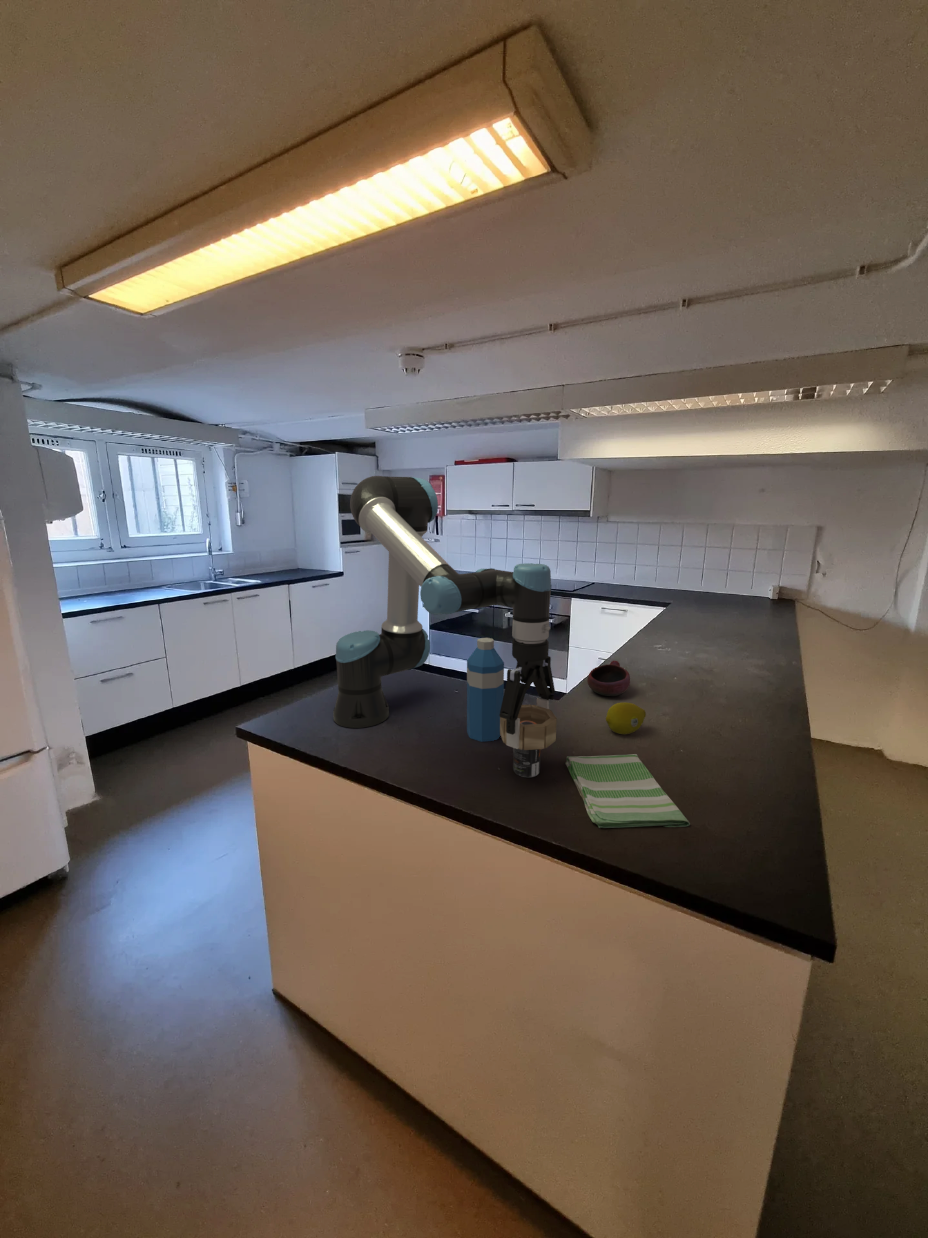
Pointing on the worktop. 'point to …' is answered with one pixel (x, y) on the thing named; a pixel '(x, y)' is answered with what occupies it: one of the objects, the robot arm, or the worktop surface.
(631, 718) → the lemon
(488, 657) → the water bottle
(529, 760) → the pill bottle
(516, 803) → the worktop surface
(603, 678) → the bowl
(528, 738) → the ring
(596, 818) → the dish towel
